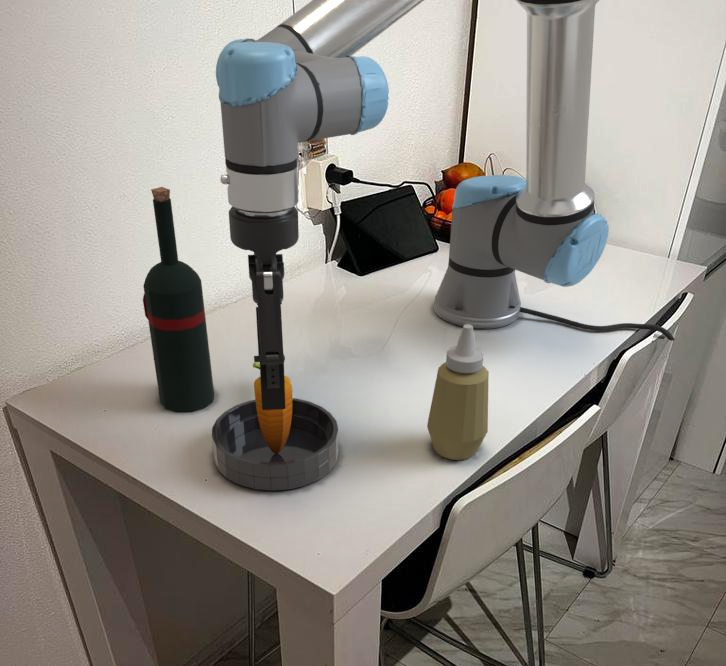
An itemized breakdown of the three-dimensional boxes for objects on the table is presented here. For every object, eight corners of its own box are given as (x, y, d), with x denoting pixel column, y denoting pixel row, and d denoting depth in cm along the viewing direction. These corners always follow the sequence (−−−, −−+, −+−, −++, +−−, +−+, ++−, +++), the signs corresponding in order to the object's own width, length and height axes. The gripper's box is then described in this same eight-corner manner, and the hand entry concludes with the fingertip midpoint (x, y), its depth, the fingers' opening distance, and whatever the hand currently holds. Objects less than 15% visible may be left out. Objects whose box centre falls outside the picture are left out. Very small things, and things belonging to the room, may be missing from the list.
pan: (331, 419, 113) (331, 394, 111) (344, 487, 100) (344, 460, 98) (215, 426, 111) (212, 400, 109) (214, 496, 98) (210, 468, 96)
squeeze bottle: (496, 448, 108) (514, 326, 98) (461, 473, 103) (476, 347, 93) (449, 426, 112) (460, 306, 102) (413, 449, 108) (421, 326, 97)
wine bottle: (183, 374, 123) (156, 173, 105) (225, 398, 117) (205, 189, 100) (139, 393, 118) (104, 185, 100) (182, 418, 113) (152, 203, 95)
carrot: (289, 466, 103) (285, 363, 94) (252, 461, 104) (245, 358, 95) (299, 445, 107) (296, 344, 98) (264, 441, 108) (257, 340, 99)
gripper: (228, 174, 96) (239, 336, 108) (228, 247, 76) (242, 435, 88) (290, 174, 97) (294, 334, 109) (307, 246, 77) (309, 432, 89)
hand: (271, 380), depth 99 cm, fingers open, 13 cm apart
